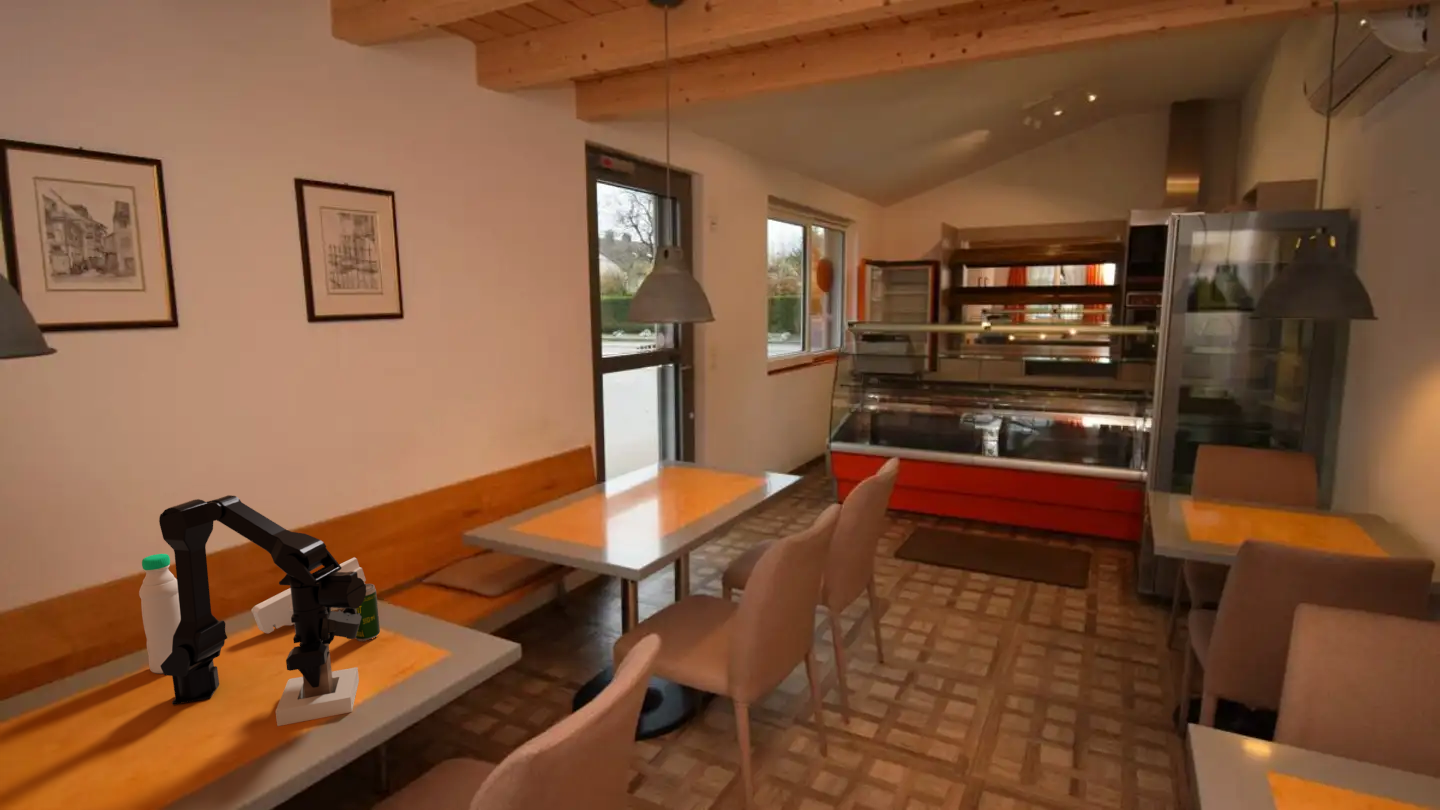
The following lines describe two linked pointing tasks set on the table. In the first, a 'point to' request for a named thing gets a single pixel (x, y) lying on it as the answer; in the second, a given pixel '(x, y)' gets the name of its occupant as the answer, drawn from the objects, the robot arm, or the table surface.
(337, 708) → the well block
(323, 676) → the walnut post
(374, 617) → the beer can
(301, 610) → the robot arm
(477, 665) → the table surface
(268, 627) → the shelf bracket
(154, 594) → the water bottle
